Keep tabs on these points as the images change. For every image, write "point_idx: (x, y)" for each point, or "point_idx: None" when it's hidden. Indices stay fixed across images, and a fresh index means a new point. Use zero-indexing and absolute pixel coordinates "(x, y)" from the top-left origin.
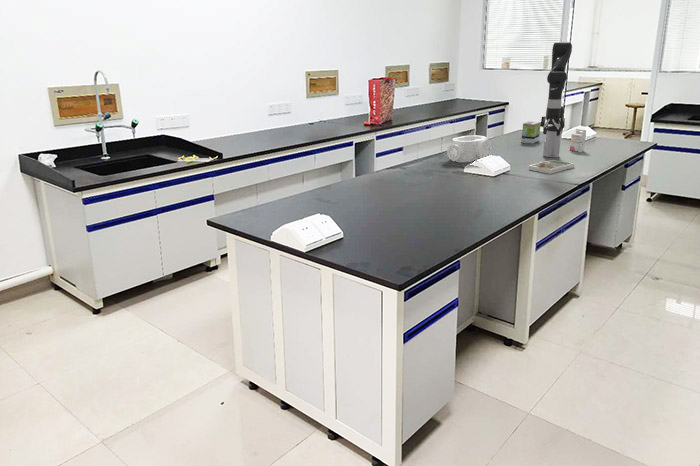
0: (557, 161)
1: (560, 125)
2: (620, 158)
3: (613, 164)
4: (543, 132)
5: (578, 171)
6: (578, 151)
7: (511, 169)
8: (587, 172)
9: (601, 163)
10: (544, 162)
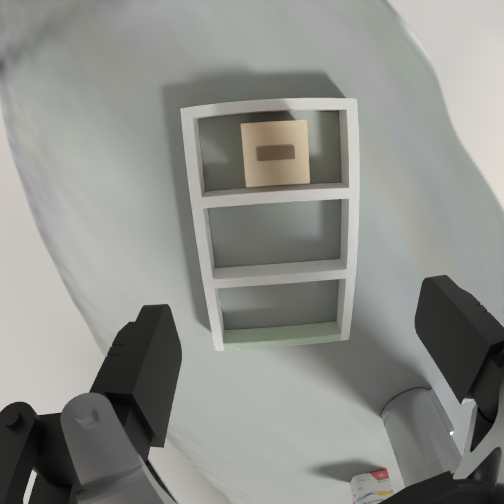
0: (314, 334)
1: (13, 470)
2: (223, 485)
3: (172, 442)
4: (463, 294)
5: (139, 281)
6: (358, 475)
7: (408, 43)
8: (105, 293)
9: (205, 436)
10: (272, 148)
